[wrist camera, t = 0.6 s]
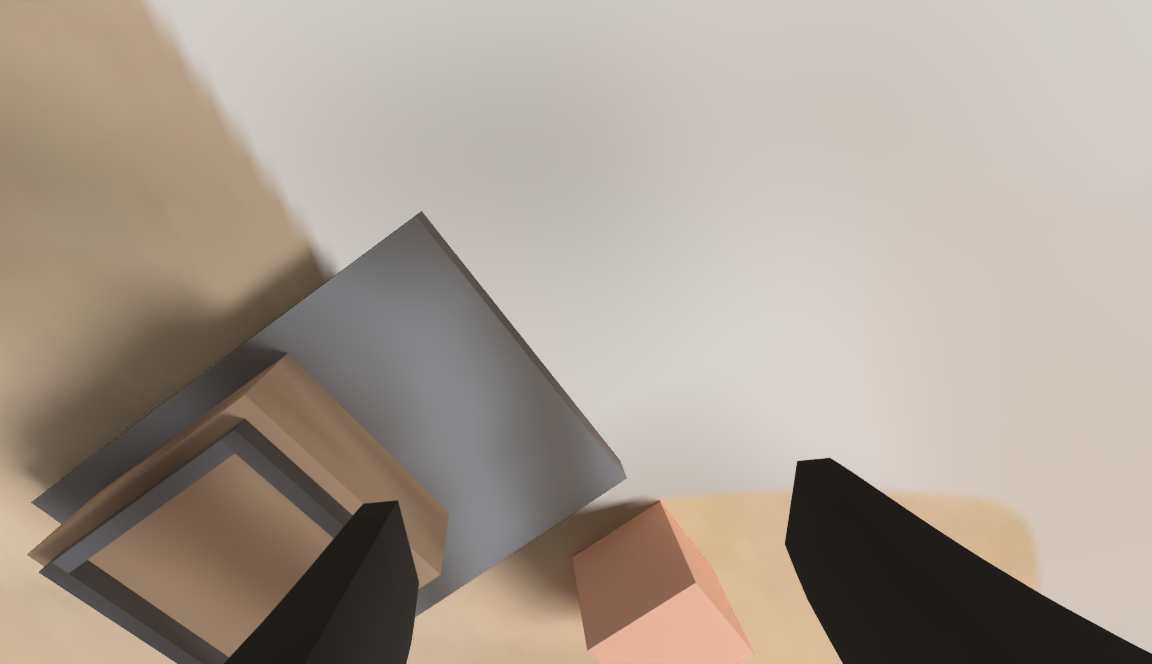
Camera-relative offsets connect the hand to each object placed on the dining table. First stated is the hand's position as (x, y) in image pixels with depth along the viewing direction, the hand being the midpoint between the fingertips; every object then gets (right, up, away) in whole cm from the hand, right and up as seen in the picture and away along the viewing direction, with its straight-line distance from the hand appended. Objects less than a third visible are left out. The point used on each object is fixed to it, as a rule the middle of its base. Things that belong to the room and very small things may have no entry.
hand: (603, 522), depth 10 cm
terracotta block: (+2, -6, +14) cm, 15 cm away
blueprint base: (-9, -2, +10) cm, 14 cm away
